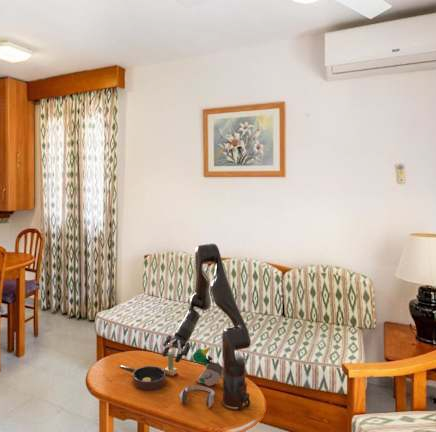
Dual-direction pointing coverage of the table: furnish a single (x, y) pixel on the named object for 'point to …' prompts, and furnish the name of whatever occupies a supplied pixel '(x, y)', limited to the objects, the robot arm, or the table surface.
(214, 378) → the toy
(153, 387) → the pan
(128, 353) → the table surface
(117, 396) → the table surface
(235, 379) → the robot arm
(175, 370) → the green peg on base
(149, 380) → the disc
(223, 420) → the table surface
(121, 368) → the pan handle
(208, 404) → the headphones
